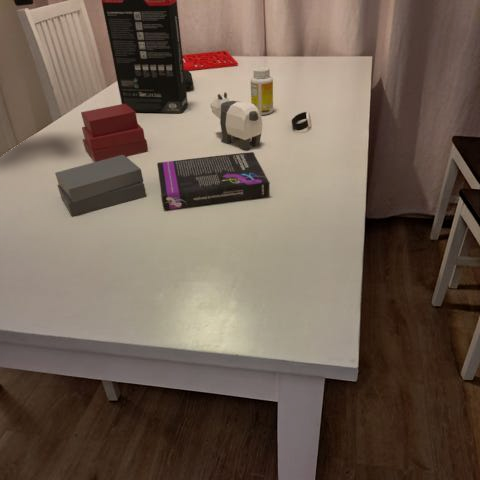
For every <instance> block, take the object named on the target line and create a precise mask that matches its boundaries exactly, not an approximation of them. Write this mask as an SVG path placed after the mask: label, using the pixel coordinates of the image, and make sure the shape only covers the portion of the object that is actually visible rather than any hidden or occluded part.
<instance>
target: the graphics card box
mask: <svg viewBox="0 0 480 480" xmlns="http://www.w3.org/2000/svg"><path fill="white" fill-rule="evenodd" d="M101 5H102V10H103V11H102V12H103V16H104V20H105V25H106V26H105V27H106V30H107V35H108V40H109V47H110V49H111V56H112V60H113V66H114V71H115V77H116V82H117V87H118V88H117V89H118V92H119V97H120V103H121V104H127V105H128V106H129V107H130V108H131V109H133V110H134V111H135V112H136V113H137V112H139V113H140V112H141V113H165V114H166V113H168V114H169V113H170V114H181V113H183V112H184V111H185V109H186V108H187V107H188V105H189V102H188V95H187V94H188V91H186V83H185V74H184V65H183V61H184V58H183V56H182V55H183V49H182V48H183V47H182V39H181V28H180V20H179V9H178V0H101Z"/></svg>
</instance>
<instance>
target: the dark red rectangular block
mask: <svg viewBox="0 0 480 480" xmlns="http://www.w3.org/2000/svg"><path fill="white" fill-rule="evenodd" d="M80 114H81V118H82V122H83V127H85V128H86V130H87V131H88V132H89V133H90V134H91V135H92V136H93V137H98V136H103V135H107V134H112V133H117V132H121V131H126V130H130V129H135V128H138V124H139V123H138V119H137V112H136V111H134V110H133V109H131V108H130V107H129V106H128V105H127V104H122V103H121V104H115V105H111V106H105V107H101V108H95V109H90V110H85V111H81V112H80Z"/></svg>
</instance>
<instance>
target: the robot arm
mask: <svg viewBox="0 0 480 480" xmlns="http://www.w3.org/2000/svg"><path fill="white" fill-rule="evenodd" d="M13 2H14V5H15V6H17V7H20V6H21V7H22V6H28V5H29V6H31V5H34V0H13Z"/></svg>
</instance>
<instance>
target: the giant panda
mask: <svg viewBox="0 0 480 480" xmlns="http://www.w3.org/2000/svg"><path fill="white" fill-rule="evenodd" d="M209 105H210V106H209V107H210V109H211V113H212V114H213V115H214V116H215V117H216V118H218V119H219V120H220V122H219V124H220V130H221V136H222V137H221V140H220V141H221V143H224V144H231V143H232V142H233V140H232V138H233V139H235V140H236V139H237V140H239V141H240V144H239V146H238V148H239V149H241V150H244V151H247V150H249V149H250V148H251V147H250V145H251V146H255V147H257V146H259V145H261V137H262V132H263V118H262V115H261V114H260V112H259V110H258V109H257V107H256V106H255V105H254V104H252V103H251V102H249V101H237V100H230V99H229V98H228V93H227V92H226V91H224V93H223V95H221V94H220V93H218V94H217V96H216V97H214V98H213V101H212V102H210V104H209Z"/></svg>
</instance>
